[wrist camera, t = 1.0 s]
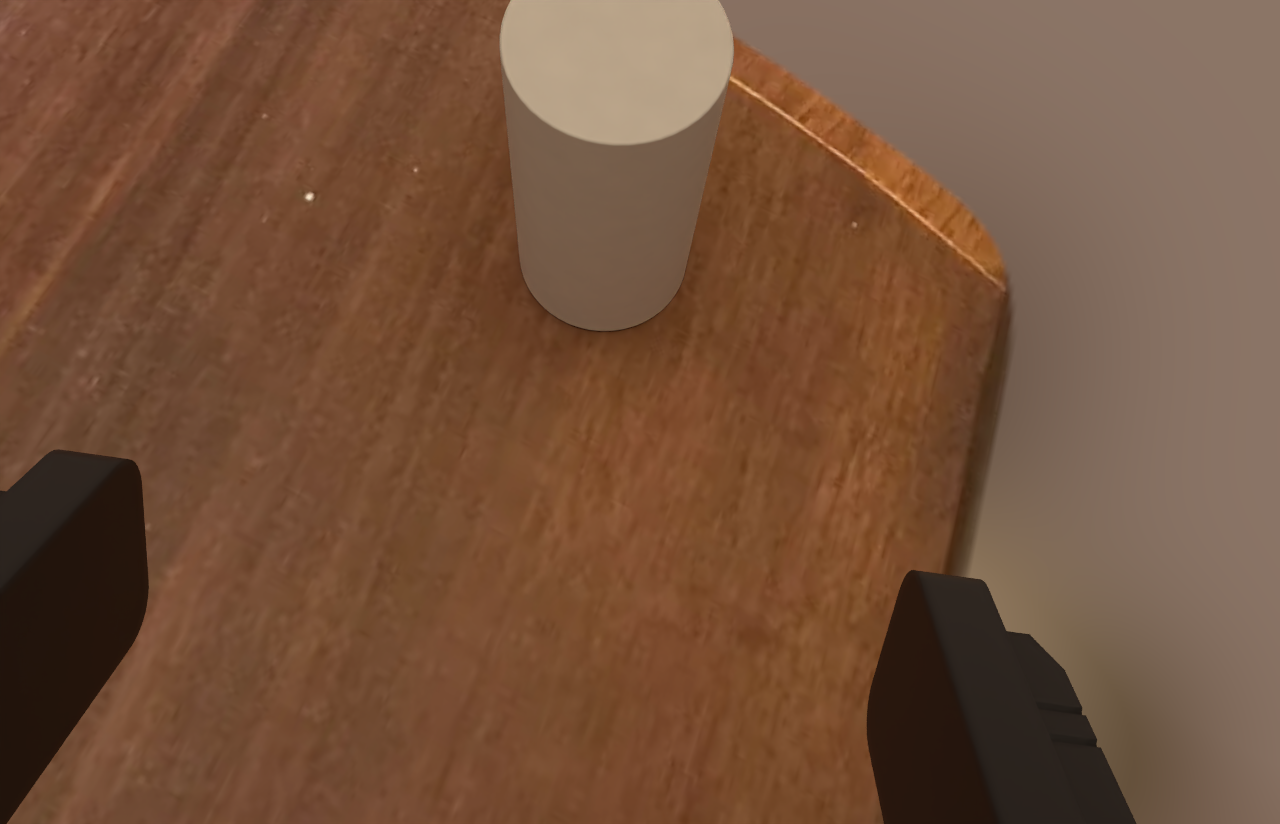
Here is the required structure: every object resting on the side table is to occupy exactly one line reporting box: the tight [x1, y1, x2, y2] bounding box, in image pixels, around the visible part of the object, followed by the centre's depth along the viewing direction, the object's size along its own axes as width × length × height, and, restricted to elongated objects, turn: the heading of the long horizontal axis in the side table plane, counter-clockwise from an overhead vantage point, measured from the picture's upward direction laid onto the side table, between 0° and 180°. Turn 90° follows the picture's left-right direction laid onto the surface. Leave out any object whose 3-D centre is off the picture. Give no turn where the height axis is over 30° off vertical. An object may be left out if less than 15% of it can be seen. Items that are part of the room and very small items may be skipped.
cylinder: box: [500, 0, 734, 331], centre depth 25 cm, size 4×4×9 cm
